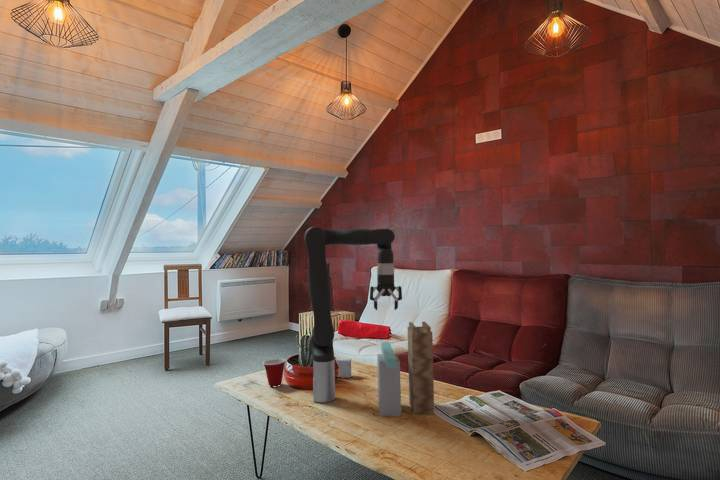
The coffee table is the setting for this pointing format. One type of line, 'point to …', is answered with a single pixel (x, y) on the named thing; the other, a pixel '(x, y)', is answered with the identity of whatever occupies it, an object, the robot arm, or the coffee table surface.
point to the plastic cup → (274, 371)
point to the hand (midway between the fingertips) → (386, 309)
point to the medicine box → (344, 368)
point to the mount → (420, 369)
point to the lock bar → (388, 355)
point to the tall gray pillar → (389, 388)
